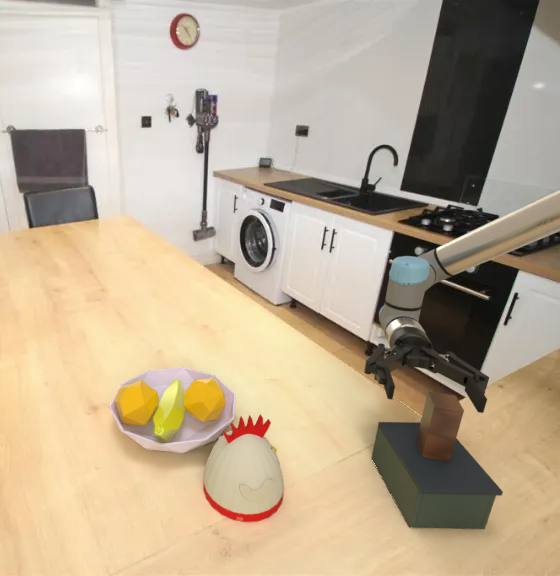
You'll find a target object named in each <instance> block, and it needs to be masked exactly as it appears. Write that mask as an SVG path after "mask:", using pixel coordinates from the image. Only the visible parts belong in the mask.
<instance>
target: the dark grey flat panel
mask: <svg viewBox="0 0 560 576" xmlns="http://www.w3.org/2000/svg"><path fill="white" fill-rule="evenodd" d="M420 422H421V421H420ZM420 422H415V421H413V422H410V421H397V422H396V421H378V422H377V427H378V426H379V428H380V430H381V431H382V433H383V434H384V436H385V437H386V439H387V441H388V442H389V444H390V445H391V447H392V448H393V450H394V452H395V453H396V455H397V456H398V458H399V459H400V461H401V463H402V464H403V466H404V467H405V469H406V470H407V472H408V474H409V475H410V477H411V478H412V480H413V481H414V483H415V485H416V486H417V488H418V489H419V491H420V492H421V494H443V495H496V497H498V496H501V497H502V496H503V492H504V491H503V490H502V489H501V488H500V487H499V485H498V484H497V483H496V482H495V481H494V480H493V479H492V477H491V476H490V475H489V474H488V473H487V472H486V470H485V469H484V468H483V467H482V465H480V464H479V462H478V461H477V460H476V459H475V457H474V456H472V454H471V453H470V452H469V451H468V450H467V448H466V447H465V446H464V445H463V444H462V442H460V440H459V439H458V438H457V437H456V441H455V444H454V448H453V452H452V455H451V459H450V462H446V461H441V460H436V459H430V458H425V457H422V456H421V453H420V450H419V447H418V444H417V441H416V439H417V435H418V431H419V427H420Z"/></svg>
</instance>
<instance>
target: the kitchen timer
mask: <svg viewBox="0 0 560 576" xmlns="http://www.w3.org/2000/svg"><path fill="white" fill-rule="evenodd" d="M271 423H272V422H271V420H270V419H269V418H268V419H267V420H266V421H264V417H263V416H262V414H259V415H258V417H257V420H256V422H255V424H254V421H253V418H252V417H251V415H250V414H249V415H248V419H247V422H246V424H245V420H244V418H243V417H242V415H241V416H240V417H239V420H238V425H237V427H236V426H235V425H234V423H232V422H231V423H230V427H231V430H229V431H227V432H226V431H225V430H222V431H223V432H222V434H223V435H219V437H218V438H217V441H216V442H215V444H213V447H212V449H211V451H210V454H209V456H208V458H207V461H206V462H205V463H206V464H205V466H204V469H203V492H204V495H205V499H206V500H207V501H208V503H209V505H211V507H212V508H213V510H215V511H216V512H218V513H219V514H220V515H222V516H224V517H227V518H228V519H231V520H233V521H239V522H242V523H243V522H244V523H251V522H259V521H262V520H266V519H269V518H270V517H271V516H273V514H275V513H277V512H278V510H279V508H280V507H281V505H282V503H283V498H284V497H283V496H284V491H285V490H284V489H285V483H284V476H283V471H282V467H281V464H280V461H279V457H278V455H277V452H278V449H277V448H276V447H275V446H273V445H272V444H271V442H270V441H269V440H268V439H267V437H265V435H266V433H267V432H268V431H269V429H270V426H271Z"/></svg>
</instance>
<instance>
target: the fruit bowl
mask: <svg viewBox="0 0 560 576" xmlns="http://www.w3.org/2000/svg"><path fill="white" fill-rule="evenodd" d="M108 408H109V410H110V413H111V414H112V416H113V418H114V421H115V422H116V424H117V427H118V428H119V431H120V432H122V433H124V435H126V436H127V437H129V438H130V439H131V440H133V441H134V442H136V443H137V444H139V446H141V447H142V448H144V449H145V450H152V451H161V452H172V453H179V454H184V453H187V452H189V451H192V450H194V449H197V448H199V447H202V446H204V445H205V446H206V445H208V444H210V443H213V442H215V441H216V440H218V438H219V437H220V436H221V434H223V431H222V430H224V431H225V430H226V429H227V428H228V427H229V426H230V425H231V423H232V422H233V421H234V420H235V411H236V393H235V392H234V391H233V390H232V389H231V388H230V387H229V386H228V385H227V384H225V383H224V382H223V381H222V380H221V379H220V378H219V377H217V375H216V374H211V373H209V372H204V371H200V370H197V369H193V368H189V367H186V366H185V367H184V366H180V367H179V366H178V367H169V368H157V369H156V368H155V369H148V370H146V371H143V372H142V373H140V374H138V375H136V376H135V377H132V378H130V379H128V380H126V381H125V382H124V381H123V383H120V385H119V387H118V388H117V390H116V393H115V394H114V397H113V398H112V400H111V402H110V405H109V406H108Z"/></svg>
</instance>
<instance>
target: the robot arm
mask: <svg viewBox="0 0 560 576" xmlns="http://www.w3.org/2000/svg"><path fill="white" fill-rule="evenodd" d="M556 233H560V188H558V189H556V190H554V191H552V192H549V193H547V194H545V195H543V196H541V197H538V198H537V199H535V200H533V201H530V202H529V203H527V204H524V205H523V206H520V207H518V208H516V209H514V210H512V211H510V212H508V213H506V214H504V215H501V216H500V217H498V218H496V219H494V220H491V221H490V222H487V223H485V224H483V225H481V226H479V227H477V228H475V229H473V230H471V231H469V232H466V233H464V234H463V235H461V236H458V237H456V238H454V239H452V240H450V241H448V242H446V243H443V244H442V245H440V246H438V247H436V248H434V249H431V250H429V251H427V252H424V253H421V254H419V255H417V256H411V255H403V256H397V257H395V258H394V259H393V260H392V263H391V267H390V269H389V272H388V282H387V289H386V294H385V300H384V304H383V305H382V307H380V310H379V312H378V320H379V325H380V326H381V329H382V331H383V333H384V335H385V338H386V340H387V343H388V345H389V347H387V346H386V345H385V344H384V343H380V342H379V343H377V349H376V350H375V351H374V352H373V353H371V355H370V356H369V357H368V358H367V359H366V360H365V364H364V370H363V373H364V374H366V375H371V374H372V375H373V379H374V381H376V382H377V384H379V385H382V386H383V389H384V391H385V394H386V398H387V400H393V399H394V393H395V389H396V384H395V382H394V379H393V377H392V372H394V371H397V370H398V369H399V370H401V369H404V368H405V367H408V368H419V369H424V370H427V371H429V372H431V373H432V374H439V375H441V376H443V377H445V378H447V379H449V380H450V381H453V382H455V383H457V384H459V385H460V386H462V387H463V388H464V392H465V394H466V395H467V397H468V398H469V401H470V402H471V403H472V405H473V407H474V408H475V410H476V411H477V413H479V414H484V412H485V409H486V406H487V403H488V398H487V396H486V395H485V394H486V390H487V388H488V384H489V381H490V376H488V375H487V374H485V373H483V372H482V371H481V370H479V369H477V368H475V367H474V366H472V365H471V364H469V363H467V362H466V361H464V360H463V359H461V358H460V357H458V356H457V355H456V354H455V353H454V352H452V351H451V350H447V351H446V354H440V353H438V351H435V349H434V346H433V344H432V342H431V341H430V339H429V337H428V336H427V334H426V331H425V330H424V328H423V327H422V325H421V324H420V322H419V321H420V316H421V310H422V306H423V301H424V297H425V293H426V291H428V289H430V288H431V287H432V286H434V285H435V284H438V283H439V282H442V281H444V280H446V279H449V278H451V277H453V276H455V275H457V274H460V273H463V272H465V271H467V270H469V269H472V268H474V267H477V266H479V265H481V264H484V263H486V262H489V261H492V260H493V259H496V258H499V257H501V256H503V255H506V254H508V253H510V252H513V251H515V250H518V249H520V248H523V247H525V246H527V245H530V244H532V243H534V242H537V241H540V240H542V239H544V238H546V237H549V236H551V235H554V234H556ZM389 355H390V356H389ZM388 356H389V357H388Z"/></svg>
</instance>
